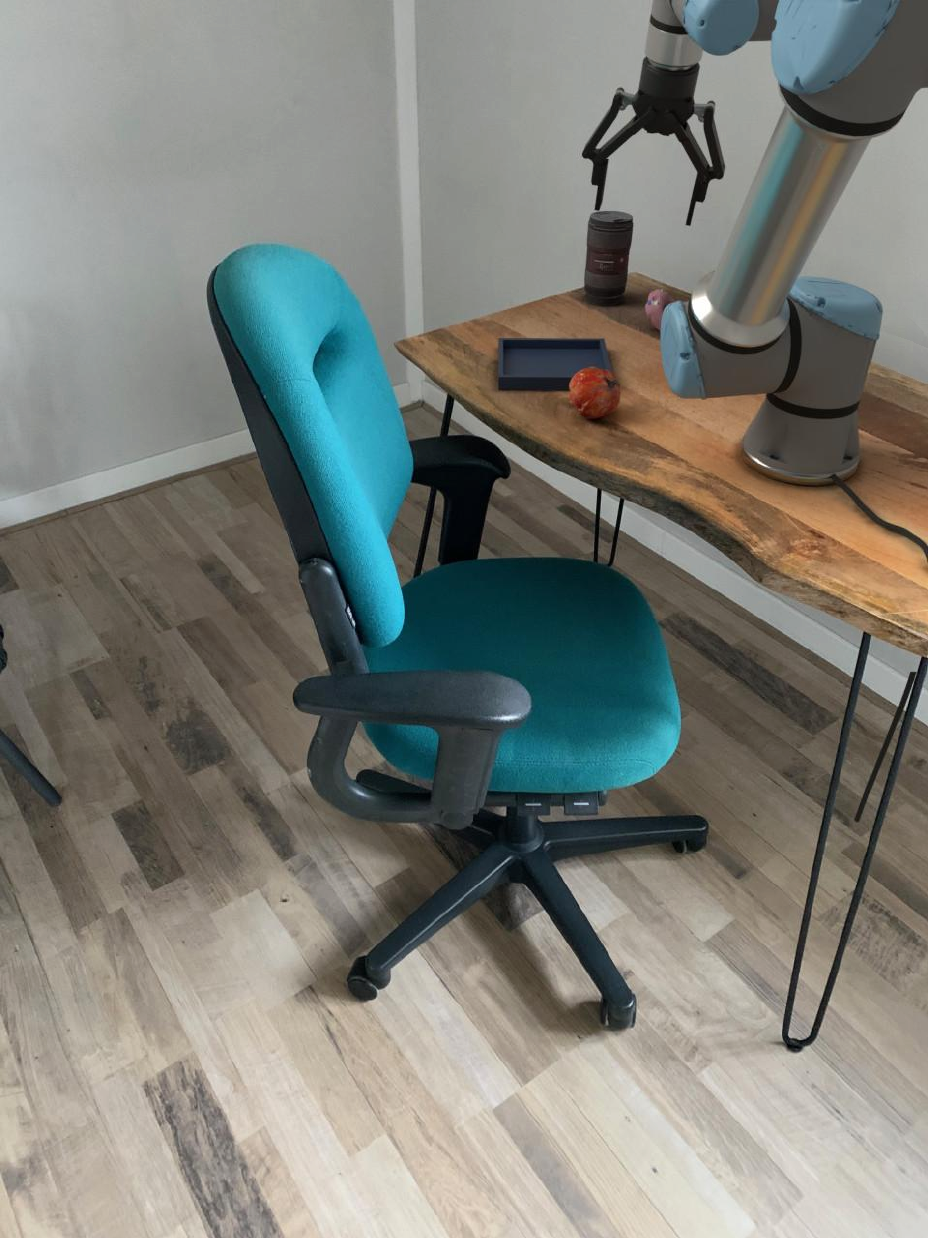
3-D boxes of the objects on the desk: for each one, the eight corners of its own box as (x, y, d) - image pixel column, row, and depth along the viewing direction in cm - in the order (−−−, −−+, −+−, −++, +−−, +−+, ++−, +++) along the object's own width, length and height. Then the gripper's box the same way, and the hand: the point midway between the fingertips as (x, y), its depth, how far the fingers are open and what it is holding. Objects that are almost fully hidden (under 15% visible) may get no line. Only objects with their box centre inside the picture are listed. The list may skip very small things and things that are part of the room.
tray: (612, 390, 146) (613, 377, 145) (498, 389, 147) (498, 376, 146) (603, 350, 159) (604, 338, 157) (498, 349, 159) (498, 337, 158)
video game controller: (660, 323, 172) (647, 287, 169) (684, 314, 170) (671, 277, 167) (652, 343, 165) (637, 306, 162) (677, 334, 162) (663, 296, 159)
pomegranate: (559, 429, 141) (598, 411, 132) (548, 381, 141) (586, 360, 132) (599, 423, 144) (639, 405, 135) (588, 376, 144) (628, 354, 135)
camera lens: (634, 301, 177) (643, 217, 167) (600, 310, 173) (607, 224, 164) (607, 288, 182) (614, 206, 173) (573, 297, 179) (579, 213, 169)
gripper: (769, 60, 125) (729, 214, 142) (584, 35, 129) (566, 187, 145) (766, 84, 121) (725, 240, 137) (573, 56, 124) (556, 212, 141)
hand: (643, 213), depth 141 cm, fingers open, 13 cm apart
